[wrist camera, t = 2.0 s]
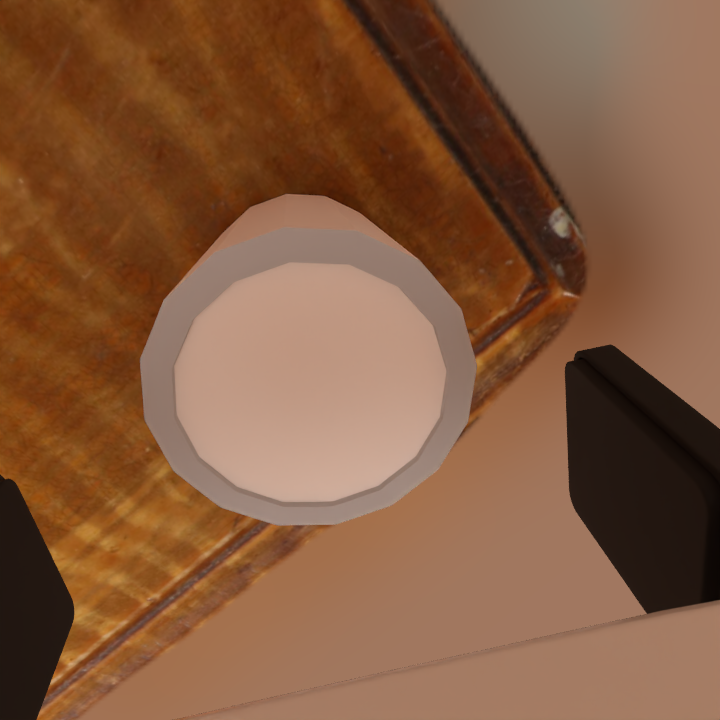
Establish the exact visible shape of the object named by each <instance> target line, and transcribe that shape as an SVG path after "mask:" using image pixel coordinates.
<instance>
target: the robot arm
mask: <svg viewBox="0 0 720 720" xmlns="http://www.w3.org/2000/svg"><path fill="white" fill-rule="evenodd" d="M565 383H566V411H567V438H568V439H567V440H568V468H569V491H570V497H571V500H572V504H573V506H574V509H575V510H576V512H577V513H578V515H579V517H580V518H581V519H582V521H583V522H584V524H585V525H586V527H587V528H588V530H589V531H590V532H591V534H592V535H593V537H594V538H595V540H596V541H597V542H598V544H599V545H600V547H601V548H602V550H603V551H604V552H605V554H606V555H607V557H608V558H609V560H610V561H611V563H612V564H613V565H614V567H615V568H616V570H617V571H618V573H619V574H620V576H621V577H622V578H623V580H624V581H625V583H626V584H627V586H628V587H629V588H630V590H631V591H632V593H633V594H634V596H635V597H636V599H637V600H638V601H639V603H640V604H641V606H642V607H643V608H644V610H645V611H646V613H647V614H645V615H640V616H636V617H631V618H626V619H622V620H617V621H612V622H608V623H603V624H599V625H594V626H590V627H585V628H581V629H576V630H571V631H567V632H563V633H558V634H554V635H549V636H544V637H540V638H535V639H531V640H526V641H522V642H517V643H512V644H508V645H503V646H499V647H495V648H490V649H485V650H481V651H476V652H472V653H467V654H463V655H458V656H454V657H449V658H445V659H440V660H436V661H431V662H427V663H422V664H417V665H413V666H408V667H404V668H399V669H395V670H390V671H386V672H381V673H377V674H373V675H368V676H364V677H360V678H355V679H350V680H346V681H342V682H337V683H333V684H328V685H324V686H319V687H315V688H311V689H306V690H302V691H297V692H293V693H288V694H284V695H280V696H275V697H271V698H267V699H262V700H258V701H254V702H249V703H245V704H240V705H236V706H231V707H227V708H223V709H218V710H214V711H210V712H205V713H201V714H196V715H193V716H188V717H183V718H179V719H174V720H720V429H719V428H718V427H717V426H715V425H714V424H713V423H711V422H710V421H709V420H708V419H706V418H705V417H704V416H703V415H701V414H700V413H699V412H698V411H696V410H695V409H694V408H692V407H691V406H690V405H689V404H687V403H686V402H685V401H684V400H682V399H681V398H680V397H678V396H677V395H676V394H675V393H673V392H672V391H671V390H669V389H668V388H667V387H666V386H664V385H663V384H662V383H661V382H659V381H658V380H657V379H655V378H654V377H653V376H652V375H650V374H649V373H648V372H646V371H645V370H644V369H643V368H641V367H640V366H639V365H637V364H636V363H635V362H634V361H633V360H631V359H630V358H629V357H627V356H626V355H625V354H624V353H622V352H621V351H620V350H619V349H617V348H616V347H615V346H613V345H606V346H601V347H596V348H592V349H587V350H582V351H578V352H577V353H576V354H575V357H574V361H570V362H567V364H566V367H565ZM73 620H74V605H73V601H72V598H71V596H70V594H69V591H68V589H67V587H66V585H65V583H64V581H63V579H62V577H61V575H60V573H59V571H58V569H57V567H56V565H55V563H54V560H53V558H52V556H51V554H50V552H49V550H48V548H47V546H46V544H45V542H44V540H43V538H42V536H41V534H40V531H39V529H38V527H37V525H36V523H35V521H34V519H33V517H32V515H31V513H30V511H29V509H28V507H27V505H26V503H25V500H24V498H23V496H22V494H21V492H20V490H19V488H18V486H17V485H16V483H15V482H14V481H13V480H11V479H4V478H3V477H2V476H1V475H0V720H36V719H37V717H38V714H39V711H40V709H41V706H42V703H43V701H44V698H45V695H46V693H47V690H48V687H49V685H50V682H51V679H52V677H53V674H54V671H55V669H56V666H57V663H58V661H59V658H60V655H61V653H62V650H63V647H64V645H65V642H66V639H67V637H68V634H69V631H70V629H71V626H72V623H73Z"/></svg>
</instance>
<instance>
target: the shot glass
mask: <svg viewBox="0 0 720 720" xmlns="http://www.w3.org/2000/svg"><path fill="white" fill-rule="evenodd" d="M140 367H141V380H142V393H143V406H144V419H145V422H146V424H147V425H148V427H149V429H150V431H151V432H152V434H153V436H154V438H155V439H156V441H157V443H158V445H159V446H160V448H161V450H162V452H163V453H164V455H165V457H166V459H167V461H168V462H169V464H170V466H171V468H172V469H173V471H174V472H175V473H176V474H178V475H179V476H180V477H182V478H183V479H184V480H185V481H187V482H188V483H189V484H191V485H192V486H193V487H195V488H196V489H197V490H198V491H200V492H201V493H202V494H204V495H205V496H206V497H207V498H209V499H210V500H211V501H213V502H214V503H215V504H217V505H218V506H219V507H221V508H224V509H227V510H230V511H233V512H236V513H239V514H243V515H246V516H249V517H252V518H255V519H258V520H262V521H265V522H268V523H271V524H274V525H331V524H339V523H342V522H345V521H348V520H351V519H354V518H356V517H359V516H362V515H365V514H368V513H371V512H374V511H377V510H380V509H383V508H386V507H389V506H391V505H393V504H394V503H396V502H397V501H398V500H400V499H401V498H402V497H403V496H405V495H406V494H407V493H409V492H410V491H411V490H413V489H414V488H415V487H416V486H418V485H419V484H420V483H422V482H423V481H424V480H425V479H427V478H428V477H430V476H431V475H432V474H433V473H434V472H436V471H437V470H438V469H439V467H440V466H441V464H442V463H443V461H444V459H445V458H446V456H447V455H448V453H449V451H450V450H451V448H452V447H453V445H454V443H455V442H456V440H457V439H458V437H459V435H460V434H461V432H462V431H463V429H464V427H465V426H466V424H467V423H468V418H469V412H470V406H471V400H472V394H473V388H474V382H475V375H476V369H477V364H476V360H475V357H474V353H473V349H472V346H471V342H470V339H469V335H468V331H467V328H466V324H465V320H464V317H463V313H462V310H461V308H460V307H459V306H458V304H457V303H456V302H455V301H454V300H453V299H452V297H451V296H450V295H449V294H448V293H447V292H446V290H445V289H444V288H443V287H442V286H441V285H440V283H439V282H438V281H437V280H436V279H435V278H434V276H433V275H432V274H431V273H430V272H429V271H428V269H427V268H426V267H425V266H424V265H423V264H422V262H421V261H420V260H419V259H417V258H416V257H415V256H414V255H412V254H411V253H410V252H409V251H407V250H406V249H405V248H404V247H402V246H401V245H400V244H398V243H397V242H396V241H395V240H393V239H392V238H391V237H390V236H388V235H387V234H386V233H385V232H383V231H382V230H381V229H380V228H378V227H377V226H376V225H374V224H373V223H372V222H371V221H369V220H368V219H367V218H366V217H364V216H363V215H362V214H361V213H359V212H357V211H355V210H353V209H351V208H349V207H347V206H345V205H343V204H341V203H339V202H337V201H335V200H333V199H331V198H328V197H326V196H317V195H298V194H285V195H282V196H279V197H276V198H274V199H271V200H268V201H265V202H263V203H260V204H257V205H254V206H252V207H250V208H249V209H248V210H246V211H245V212H244V213H243V214H242V215H241V216H240V217H239V218H238V219H237V220H236V221H235V222H234V223H233V224H232V225H231V226H229V227H228V228H227V229H226V230H225V231H224V232H223V233H222V234H221V235H220V237H219V238H218V239H217V240H216V241H215V242H214V243H213V244H212V246H211V247H210V248H209V249H208V250H207V251H206V252H205V254H204V255H203V256H202V257H201V258H200V259H199V260H198V262H197V263H196V264H195V265H194V266H193V267H192V268H191V269H190V271H189V272H188V273H187V274H186V275H185V276H184V277H183V279H182V280H181V281H180V282H179V283H178V284H177V285H176V287H175V288H174V289H173V290H172V291H171V292H170V293H169V295H168V296H167V297H166V298H165V299H164V301H163V303H162V306H161V308H160V311H159V313H158V316H157V318H156V321H155V323H154V326H153V328H152V331H151V333H150V336H149V338H148V341H147V343H146V346H145V348H144V351H143V353H142V356H141V358H140Z"/></svg>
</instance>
